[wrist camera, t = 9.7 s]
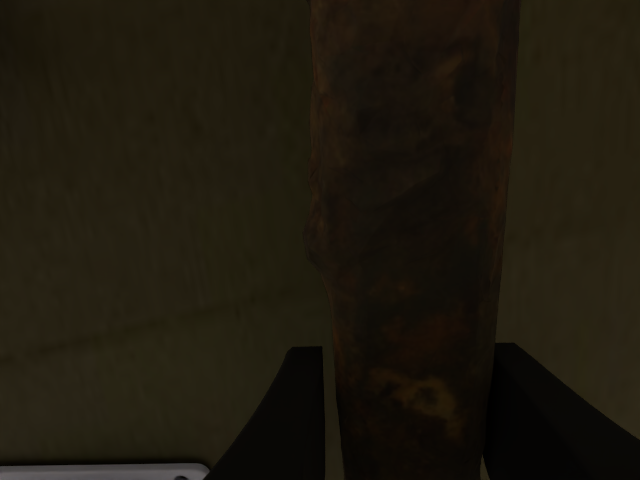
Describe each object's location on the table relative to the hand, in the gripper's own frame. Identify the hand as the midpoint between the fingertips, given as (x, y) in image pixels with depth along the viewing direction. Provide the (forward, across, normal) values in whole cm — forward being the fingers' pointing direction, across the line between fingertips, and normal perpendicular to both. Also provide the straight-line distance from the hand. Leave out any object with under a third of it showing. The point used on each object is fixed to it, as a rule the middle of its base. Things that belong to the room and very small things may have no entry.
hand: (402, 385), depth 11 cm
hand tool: (+2, -1, 0) cm, 2 cm away
